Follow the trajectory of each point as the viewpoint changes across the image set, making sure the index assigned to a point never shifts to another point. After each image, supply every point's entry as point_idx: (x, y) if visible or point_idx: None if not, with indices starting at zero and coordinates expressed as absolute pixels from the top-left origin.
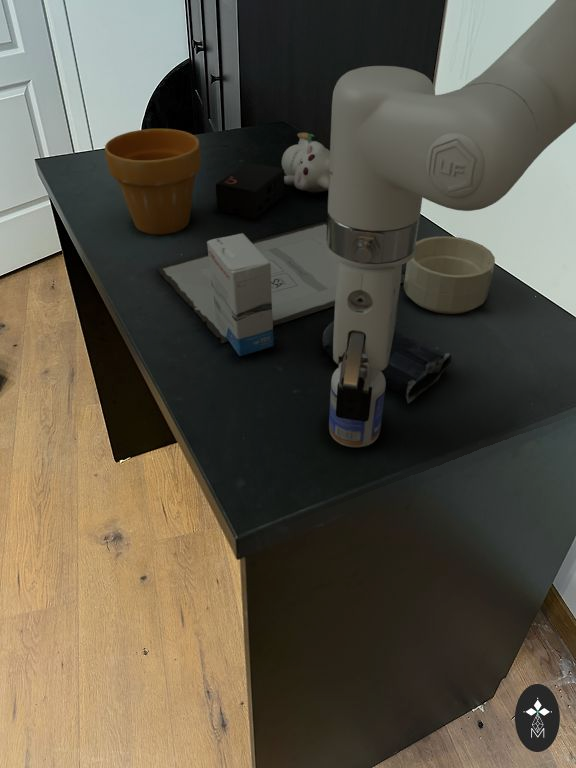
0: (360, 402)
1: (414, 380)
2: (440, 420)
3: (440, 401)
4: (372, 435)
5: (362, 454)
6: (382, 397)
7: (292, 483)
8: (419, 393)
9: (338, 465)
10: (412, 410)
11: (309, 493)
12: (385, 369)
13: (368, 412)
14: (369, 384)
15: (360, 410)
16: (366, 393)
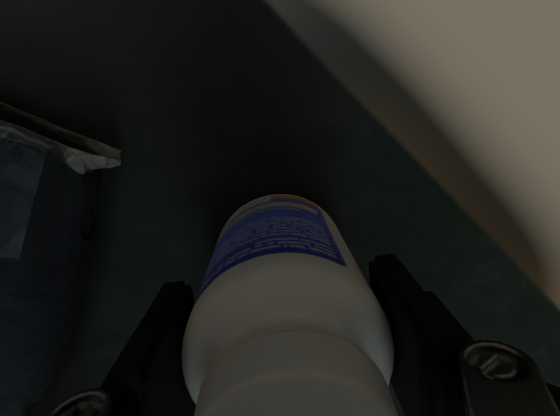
0: (463, 331)
1: (56, 155)
2: (146, 46)
3: (64, 63)
4: (319, 210)
5: (348, 212)
6: (305, 246)
7: (473, 318)
8: (65, 130)
9: (398, 251)
10: (141, 133)
11: (493, 281)
12: (51, 253)
13: (406, 270)
14: (469, 365)
15: (439, 304)
16: (512, 352)
